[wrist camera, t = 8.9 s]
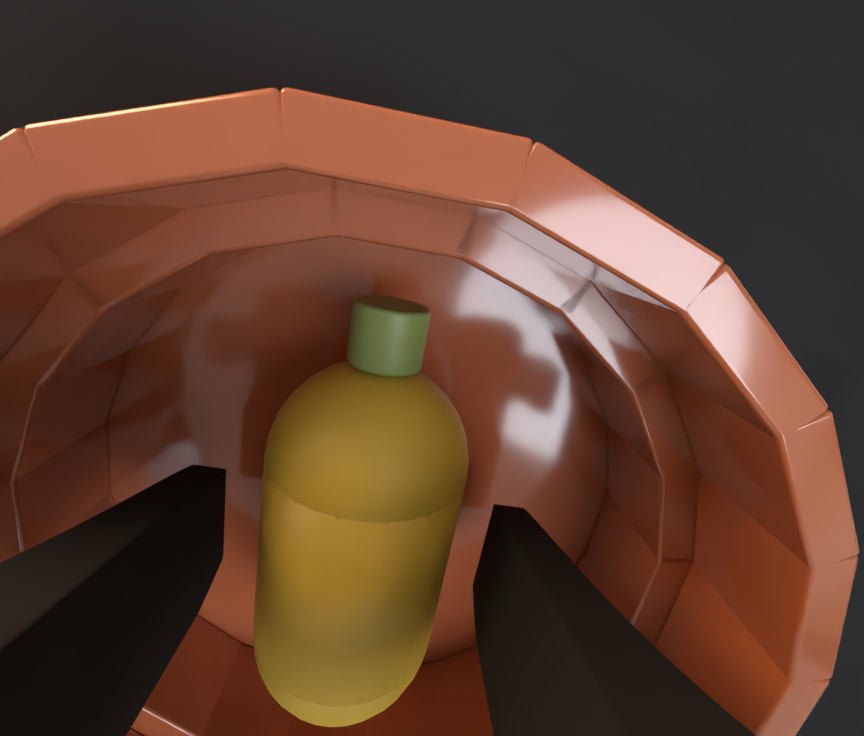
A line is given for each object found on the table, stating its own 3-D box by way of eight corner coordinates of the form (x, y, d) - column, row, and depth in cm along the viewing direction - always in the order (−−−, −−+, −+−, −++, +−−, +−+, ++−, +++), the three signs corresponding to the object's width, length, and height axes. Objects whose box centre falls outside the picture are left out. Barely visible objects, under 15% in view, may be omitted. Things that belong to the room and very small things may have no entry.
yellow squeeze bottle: (414, 614, 11) (420, 777, 8) (274, 603, 11) (220, 772, 7) (480, 301, 8) (530, 351, 5) (303, 271, 8) (240, 307, 5)
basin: (561, 696, 13) (646, 973, 8) (90, 654, 12) (-131, 947, 7) (736, 237, 9) (1108, 257, 4) (40, 100, 8) (-574, -97, 3)
